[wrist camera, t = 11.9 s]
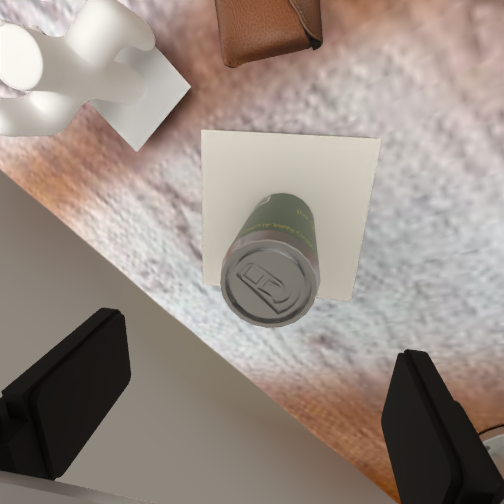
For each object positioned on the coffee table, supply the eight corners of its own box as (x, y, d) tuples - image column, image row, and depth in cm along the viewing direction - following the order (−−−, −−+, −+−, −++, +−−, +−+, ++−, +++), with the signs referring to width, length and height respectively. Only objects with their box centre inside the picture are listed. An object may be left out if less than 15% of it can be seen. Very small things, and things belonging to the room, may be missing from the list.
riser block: (345, 282, 32) (351, 301, 29) (213, 267, 34) (202, 284, 30) (370, 137, 27) (381, 138, 23) (214, 129, 29) (201, 129, 25)
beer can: (239, 227, 28) (196, 291, 17) (276, 178, 26) (255, 213, 15) (287, 263, 28) (277, 348, 17) (327, 217, 26) (345, 280, 15)
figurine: (213, 82, 27) (121, 32, 14) (148, 158, 31) (21, 179, 17) (153, 13, 26) (-14, -119, 12) (92, 99, 30) (-93, 70, 16)
